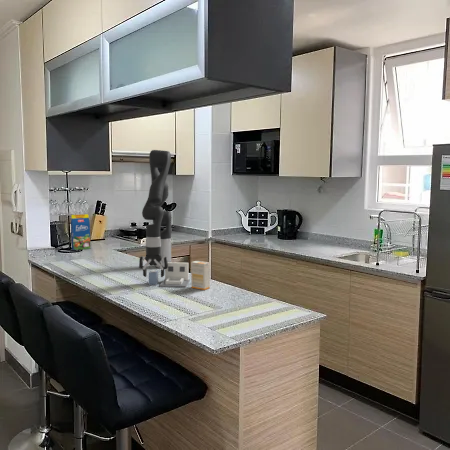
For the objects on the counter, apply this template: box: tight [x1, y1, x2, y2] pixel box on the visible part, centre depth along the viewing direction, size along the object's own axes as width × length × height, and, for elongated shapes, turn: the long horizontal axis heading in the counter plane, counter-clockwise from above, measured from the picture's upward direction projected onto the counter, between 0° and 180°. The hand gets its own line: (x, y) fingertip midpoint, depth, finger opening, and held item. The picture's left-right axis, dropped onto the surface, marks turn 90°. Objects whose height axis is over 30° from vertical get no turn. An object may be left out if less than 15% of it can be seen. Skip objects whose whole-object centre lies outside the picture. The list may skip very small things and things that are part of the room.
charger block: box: [148, 270, 159, 285], centre depth 233 cm, size 4×4×6 cm
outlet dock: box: [159, 261, 190, 288], centre depth 232 cm, size 13×13×10 cm
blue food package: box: [70, 213, 92, 251], centre depth 329 cm, size 6×12×25 cm, turn 121°
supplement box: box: [190, 260, 211, 291], centre depth 224 cm, size 8×5×13 cm, turn 56°
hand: (153, 276), depth 233 cm, fingers open, 8 cm apart
